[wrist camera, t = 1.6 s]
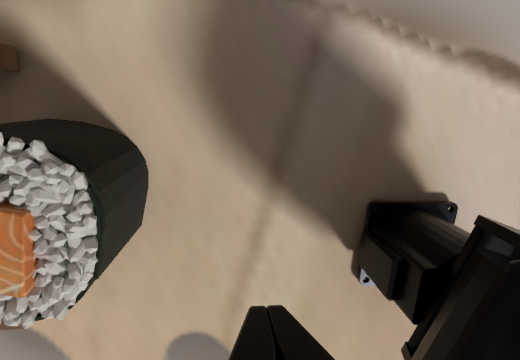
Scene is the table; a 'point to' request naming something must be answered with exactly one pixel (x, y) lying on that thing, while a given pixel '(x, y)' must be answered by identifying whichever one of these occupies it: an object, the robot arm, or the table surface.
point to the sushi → (63, 212)
